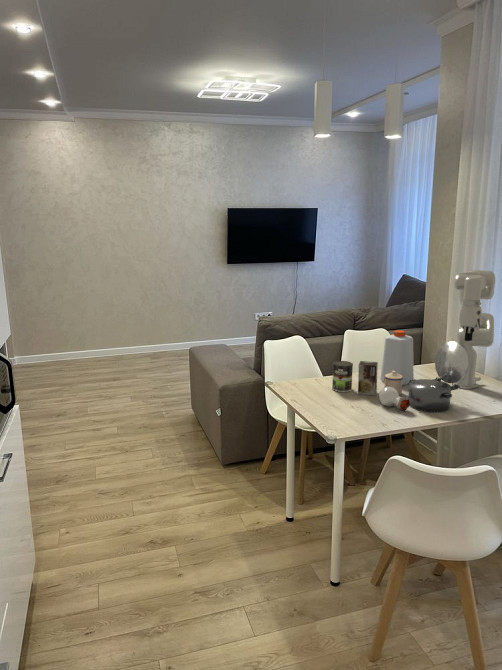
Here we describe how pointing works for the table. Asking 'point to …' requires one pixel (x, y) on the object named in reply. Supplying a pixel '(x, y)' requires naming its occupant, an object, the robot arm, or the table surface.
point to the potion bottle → (393, 398)
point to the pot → (430, 395)
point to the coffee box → (367, 378)
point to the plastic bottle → (398, 356)
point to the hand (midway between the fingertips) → (468, 340)
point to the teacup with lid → (394, 381)
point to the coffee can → (342, 376)
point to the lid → (451, 362)
